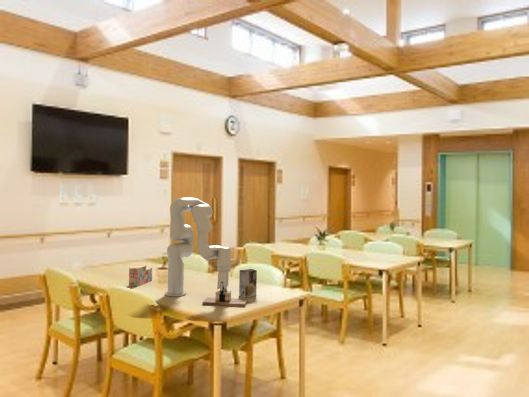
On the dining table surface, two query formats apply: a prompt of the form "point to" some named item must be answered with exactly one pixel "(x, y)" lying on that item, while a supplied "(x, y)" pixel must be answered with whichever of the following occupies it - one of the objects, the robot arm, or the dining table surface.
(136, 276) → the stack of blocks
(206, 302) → the board
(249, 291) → the coffee box
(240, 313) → the dining table surface
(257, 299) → the dining table surface
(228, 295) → the block
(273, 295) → the dining table surface
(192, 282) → the dining table surface
